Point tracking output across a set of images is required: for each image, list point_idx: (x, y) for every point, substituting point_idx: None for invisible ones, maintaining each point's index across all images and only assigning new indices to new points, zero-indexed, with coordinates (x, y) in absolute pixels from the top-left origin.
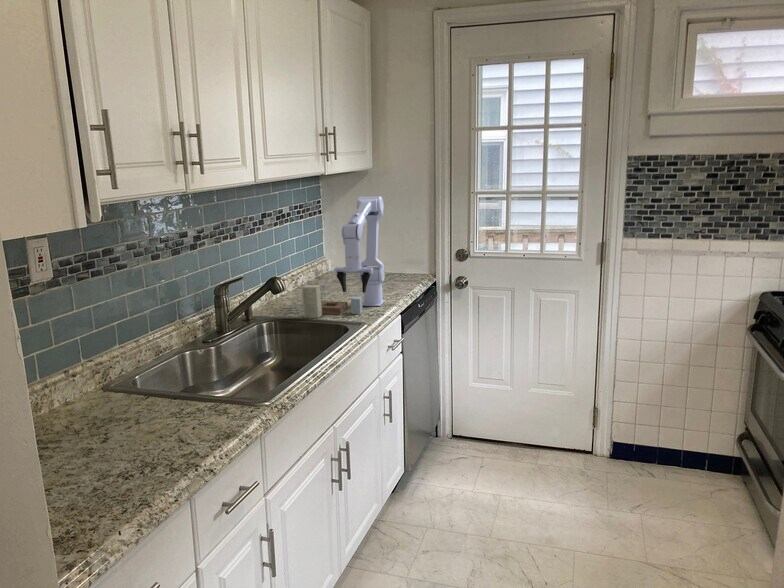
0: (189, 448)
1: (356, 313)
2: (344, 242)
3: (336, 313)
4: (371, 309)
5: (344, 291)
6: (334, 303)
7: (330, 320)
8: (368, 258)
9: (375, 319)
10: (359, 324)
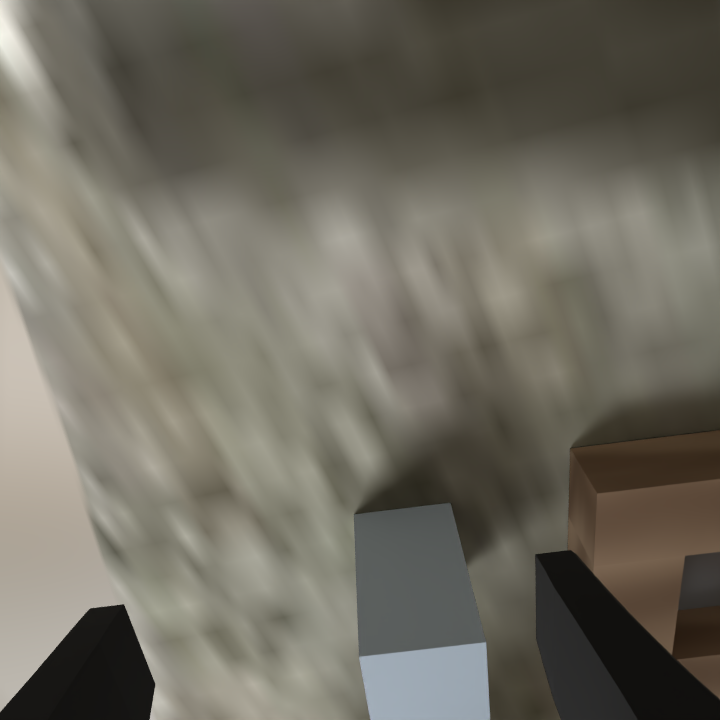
0: None
1: (394, 512)
2: None
3: (612, 449)
4: (317, 670)
5: (543, 562)
6: (713, 653)
7: (602, 168)
8: None
9: (66, 356)
10: (121, 63)
